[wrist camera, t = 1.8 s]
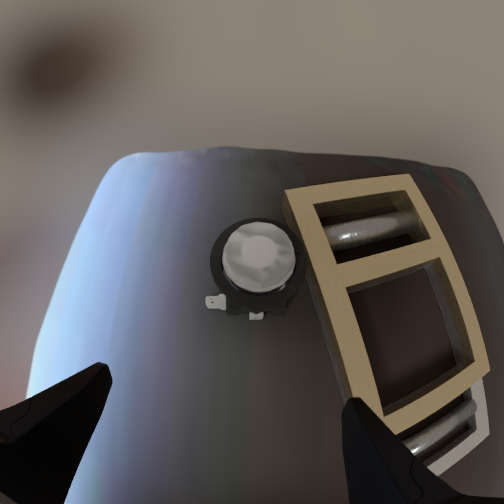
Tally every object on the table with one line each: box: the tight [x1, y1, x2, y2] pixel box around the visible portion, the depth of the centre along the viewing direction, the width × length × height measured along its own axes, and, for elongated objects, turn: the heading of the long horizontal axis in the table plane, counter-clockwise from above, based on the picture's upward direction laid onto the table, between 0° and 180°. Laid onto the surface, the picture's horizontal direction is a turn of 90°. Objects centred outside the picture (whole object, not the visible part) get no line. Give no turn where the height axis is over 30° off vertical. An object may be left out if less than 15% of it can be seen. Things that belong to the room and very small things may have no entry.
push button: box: [206, 218, 307, 320], centre depth 19 cm, size 7×5×10 cm
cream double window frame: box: [282, 174, 490, 476], centre depth 20 cm, size 15×31×3 cm, turn 14°
